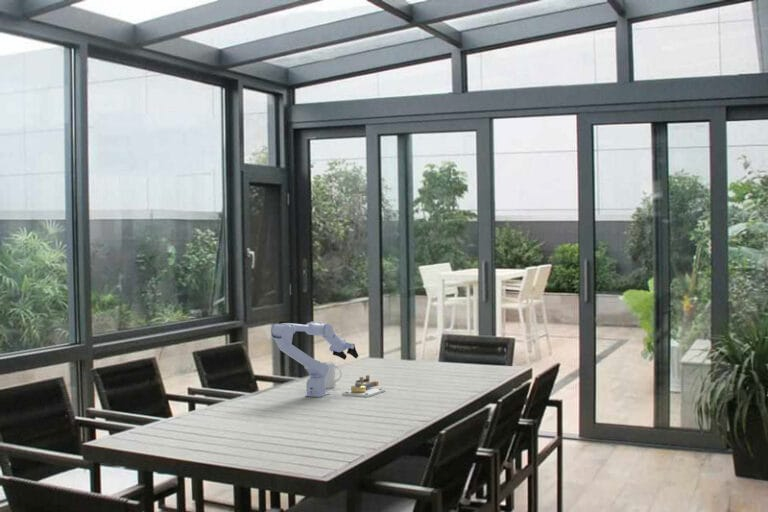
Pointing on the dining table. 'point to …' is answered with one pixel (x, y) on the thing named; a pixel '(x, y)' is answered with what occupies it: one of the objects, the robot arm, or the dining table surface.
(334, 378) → the mug
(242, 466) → the dining table surface
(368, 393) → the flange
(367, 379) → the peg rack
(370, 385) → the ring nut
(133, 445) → the dining table surface
